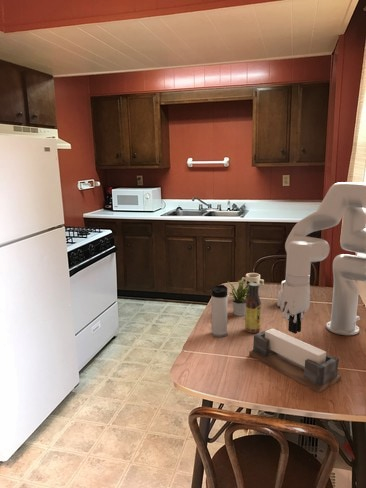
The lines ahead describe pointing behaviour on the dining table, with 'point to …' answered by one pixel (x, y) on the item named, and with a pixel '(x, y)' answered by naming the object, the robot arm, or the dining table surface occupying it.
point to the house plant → (239, 298)
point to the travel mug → (219, 311)
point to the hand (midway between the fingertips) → (294, 331)
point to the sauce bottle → (253, 309)
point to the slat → (294, 348)
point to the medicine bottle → (280, 293)
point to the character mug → (254, 278)
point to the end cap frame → (297, 366)
